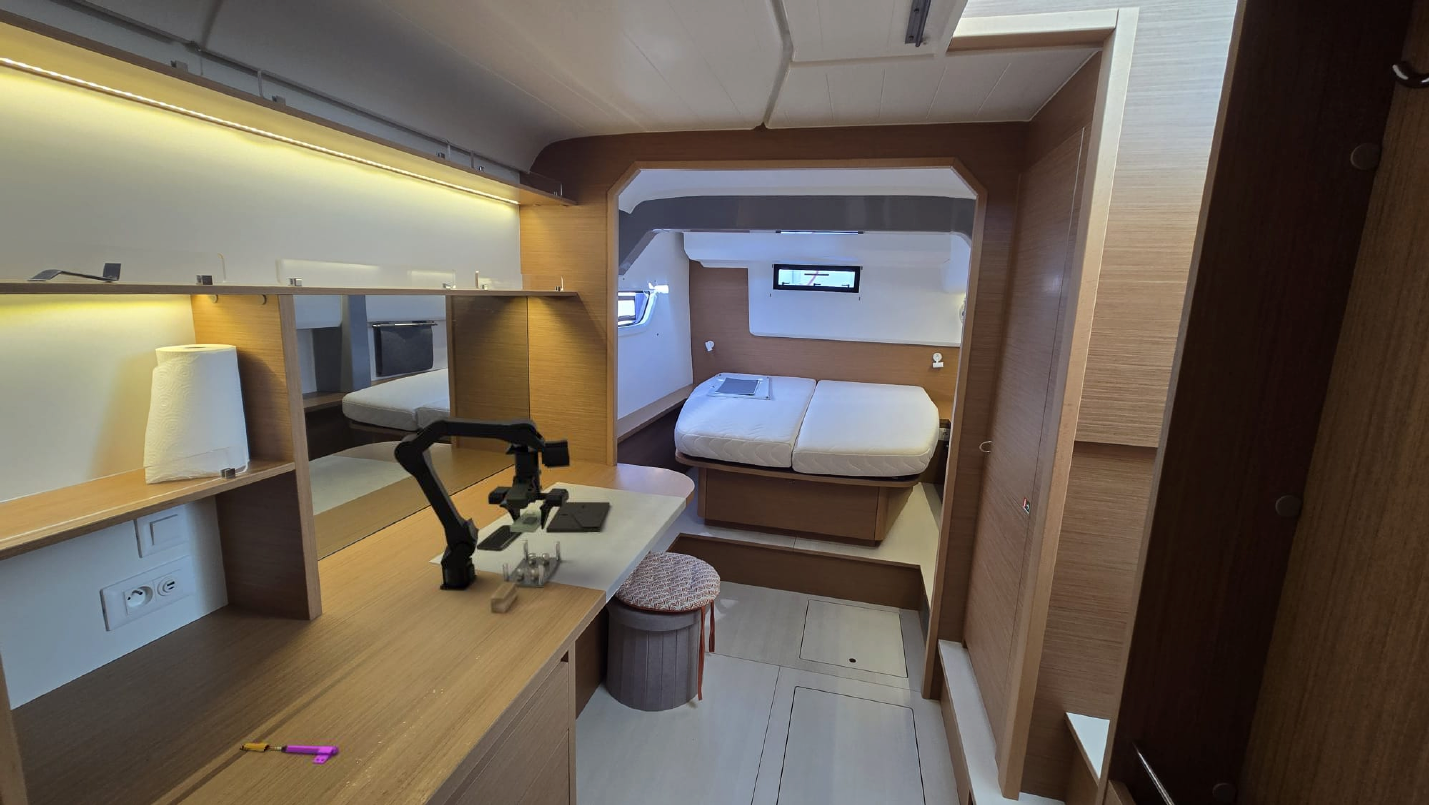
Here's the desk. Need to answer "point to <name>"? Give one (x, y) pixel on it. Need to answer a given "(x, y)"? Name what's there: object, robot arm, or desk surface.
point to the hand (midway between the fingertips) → (530, 528)
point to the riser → (503, 597)
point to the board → (527, 522)
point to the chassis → (533, 568)
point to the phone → (498, 539)
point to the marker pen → (303, 750)
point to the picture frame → (578, 517)
